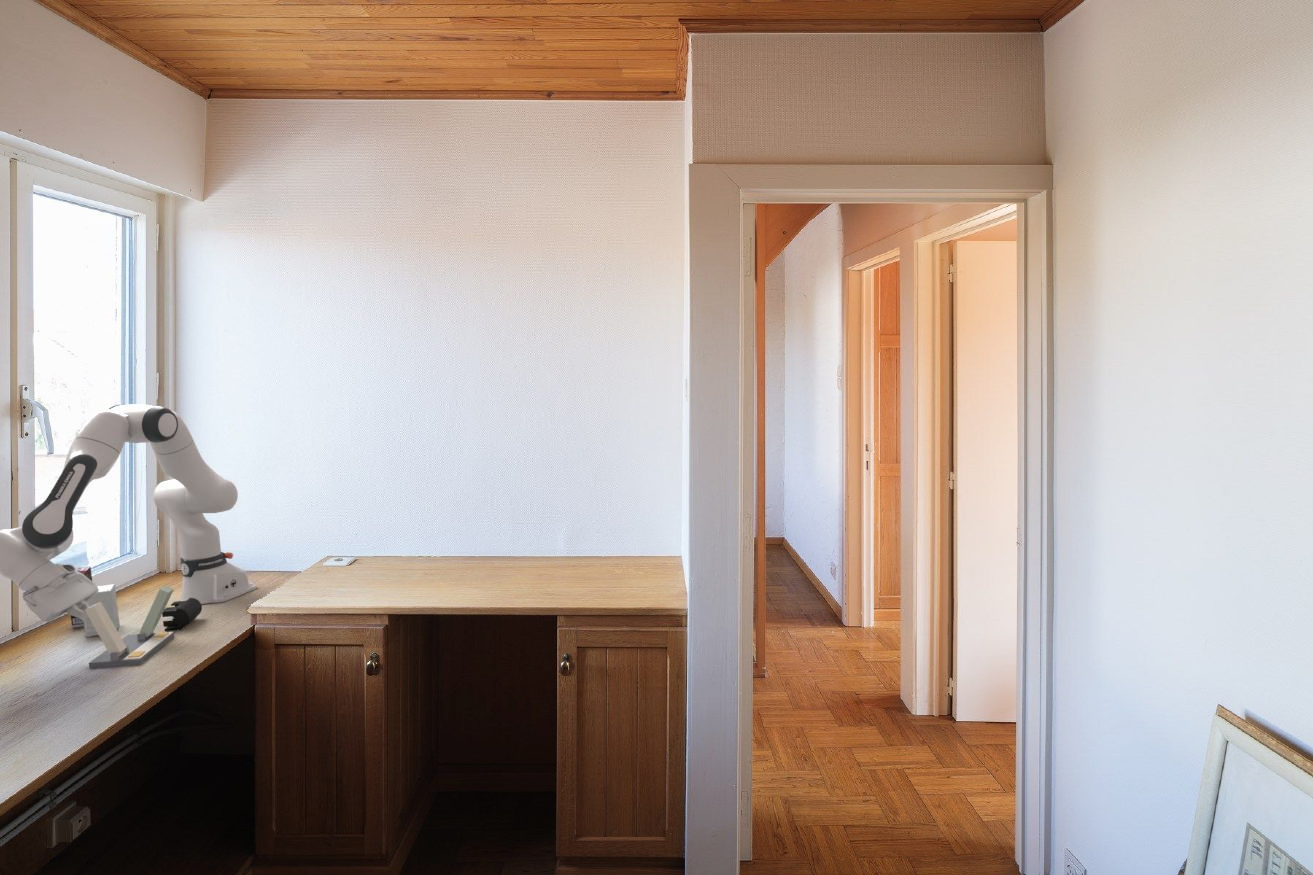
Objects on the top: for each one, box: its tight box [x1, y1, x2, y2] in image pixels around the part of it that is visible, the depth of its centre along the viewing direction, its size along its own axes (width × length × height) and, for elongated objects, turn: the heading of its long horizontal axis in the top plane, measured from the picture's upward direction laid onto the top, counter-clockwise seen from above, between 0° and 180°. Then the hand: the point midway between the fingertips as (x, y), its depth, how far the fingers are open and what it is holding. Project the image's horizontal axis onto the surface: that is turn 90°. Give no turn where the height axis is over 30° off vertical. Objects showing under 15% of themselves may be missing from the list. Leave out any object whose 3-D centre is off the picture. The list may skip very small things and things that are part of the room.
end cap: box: [161, 598, 203, 632], centre depth 238 cm, size 10×7×7 cm
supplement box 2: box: [84, 583, 121, 638], centre depth 234 cm, size 7×7×13 cm
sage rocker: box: [138, 585, 175, 637], centre depth 224 cm, size 2×4×15 cm, turn 8°
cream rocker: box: [85, 602, 127, 656], centre depth 210 cm, size 2×4×15 cm, turn 5°
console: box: [88, 631, 175, 670], centre depth 218 cm, size 12×20×4 cm, turn 8°
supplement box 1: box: [70, 566, 93, 629], centre depth 242 cm, size 9×5×16 cm, turn 23°
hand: (90, 617), depth 209 cm, fingers closed, pressing on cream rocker
